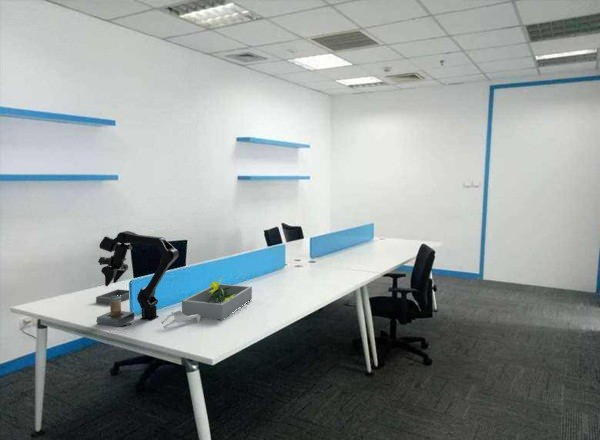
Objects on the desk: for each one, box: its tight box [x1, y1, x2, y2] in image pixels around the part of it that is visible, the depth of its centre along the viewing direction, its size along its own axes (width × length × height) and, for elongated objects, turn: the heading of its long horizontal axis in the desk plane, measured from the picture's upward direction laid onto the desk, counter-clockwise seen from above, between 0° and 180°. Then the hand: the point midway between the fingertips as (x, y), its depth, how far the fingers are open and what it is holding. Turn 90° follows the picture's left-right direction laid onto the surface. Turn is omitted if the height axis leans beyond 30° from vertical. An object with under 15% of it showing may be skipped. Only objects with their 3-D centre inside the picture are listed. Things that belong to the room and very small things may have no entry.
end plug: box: [109, 296, 122, 317], centre depth 210 cm, size 5×5×12 cm
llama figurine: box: [160, 309, 201, 329], centre depth 208 cm, size 2×11×18 cm
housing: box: [96, 310, 135, 328], centre depth 210 cm, size 12×12×4 cm
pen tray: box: [95, 288, 130, 305], centre depth 248 cm, size 12×18×4 cm, turn 164°
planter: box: [181, 283, 253, 321], centre depth 236 cm, size 23×39×8 cm, turn 164°
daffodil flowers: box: [209, 276, 235, 304], centre depth 235 cm, size 17×15×35 cm
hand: (110, 284), depth 215 cm, fingers open, 9 cm apart
